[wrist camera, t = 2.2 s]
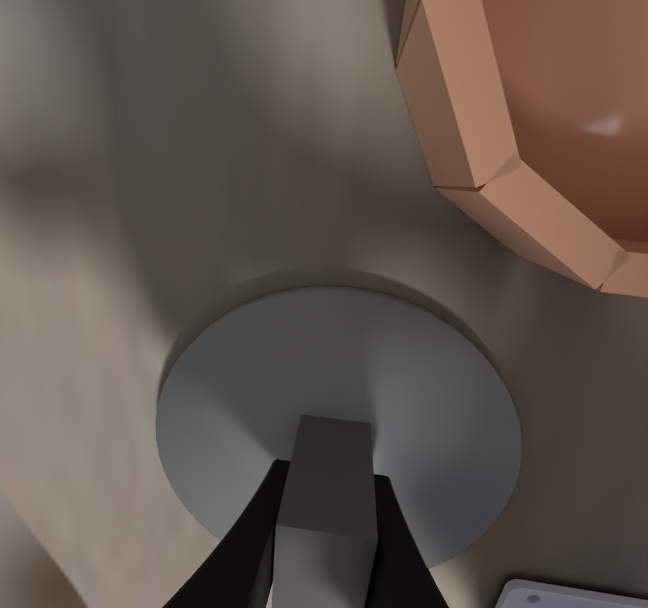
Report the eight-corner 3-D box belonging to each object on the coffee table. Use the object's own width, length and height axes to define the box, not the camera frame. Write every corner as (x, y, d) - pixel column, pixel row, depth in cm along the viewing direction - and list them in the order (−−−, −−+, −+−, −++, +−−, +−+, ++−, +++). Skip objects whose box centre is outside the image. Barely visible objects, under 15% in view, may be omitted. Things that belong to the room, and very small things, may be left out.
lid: (563, 307, 10) (724, 404, 6) (464, 582, 15) (512, 754, 10) (151, 264, 11) (12, 320, 7) (178, 539, 16) (107, 683, 11)
